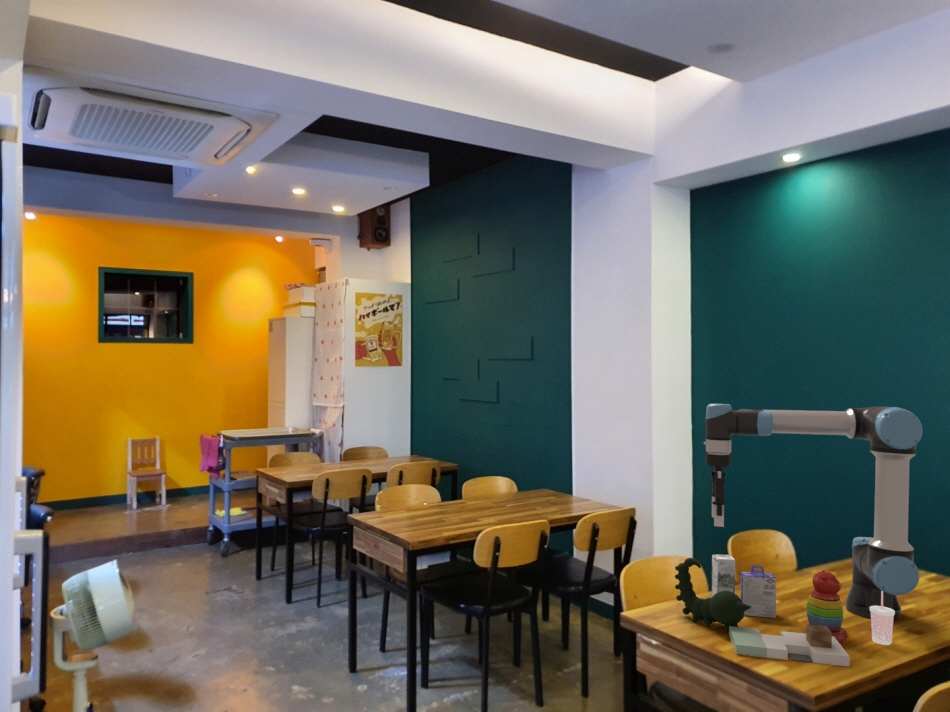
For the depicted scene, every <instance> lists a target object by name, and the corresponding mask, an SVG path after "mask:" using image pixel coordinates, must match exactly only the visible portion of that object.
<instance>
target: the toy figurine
mask: <svg viewBox="0 0 950 712" xmlns="http://www.w3.org/2000/svg"><path fill="white" fill-rule="evenodd" d="M693 566H696V567H697V568H698V569H701V568H702V566H701V563H700V562H699V560H697V558H694V557H688V558H686V559H685V560H684V561H683V562H681V563H679V564H678V565H676V566H674V569H675V571H677V574H675V575H674V578H675V580H678V581H679V582H678V584H675V586H674V588H675V590H679V591H680V592H679V594H678V595H676V596H675V597H676V601H677V602H681V601H682V602H683V603H684V606H685V607H684V608H682V613H683V614H684V615H685V616H687V615H690V613H691V615H692V621H693V622H694V623H699V622H700V621H703V622H702V623H703V624H704V625H706V626H707V627H710V626H712V625H713V623H718V624H720V625H723V628H724V630H725V631H726V633H728V634H729V626H734V627H739V625H738V624H739V623H740V622H742V620H743V619H744V618H745V615H744V612H745V611H746V610H748V609H750V606H748V605H746V604H744V603H743V602H742V600H741V597H740V596H739V595H737V594H736V593H733V592H730V591H720V592H718V593H716V594H715V595H714V596H713V597H706V598H702V597H699V596H698V595H696V594H697V593H696V591H695V590H694V585H693V582H692V581H691V579H692V576H691V573H690V572H689V571H690V568H691V567H693Z"/></svg>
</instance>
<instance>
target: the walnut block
mask: <svg viewBox="0 0 950 712" xmlns="http://www.w3.org/2000/svg"><path fill="white" fill-rule="evenodd" d="M805 626H806V627H805V628H806V629H805V634H806V640H807V641H808V643H809V644H810V646H813V647H822V648H832V633H831V631H830V630H829V629H828V627H827V626H819V625H809V623H807V624H806V625H805Z"/></svg>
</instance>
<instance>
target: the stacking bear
mask: <svg viewBox="0 0 950 712" xmlns="http://www.w3.org/2000/svg"><path fill="white" fill-rule="evenodd" d="M842 584H843V583H841V581H840V580H838V579H837V577H836V576H835V574H833V573H832V572H830V571H829V572H828V571H826V569H822V570H821V571H817V572H816V573H815V574H814V575H813V577H812V586H813V588H814V590H812V591H811V592H810V594H809V595H808V598H807V602H806V610H805V611H806V617H807V623H808V624H809V625H819V626H827V627H828V629H829V630H830V631H831V633H832V636H834V637H835V638H836V640H837V641H838V642H839V644H840V645H841V644H844V643H846V638H845V637H846V636H848V632H847V629H845V628H844V627H842V624H843V620H844V609H843V604H842V601H841V597H840V595H839V594H838V593H839V592H840V591H841V589H842V588H843V585H842Z"/></svg>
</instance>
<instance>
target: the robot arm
mask: <svg viewBox="0 0 950 712" xmlns="http://www.w3.org/2000/svg"><path fill="white" fill-rule="evenodd" d="M705 411H706V412H705V441H703V445H704V446H705V452H707V453H706V454H705V459H704V460H705V463H704V464H705V465H706V466H708V467H711V468H712V471H711V472H710V477H711V484H712V485H711V518H714V519H713V521H714V522H713V526H714V527H719V528H720V527H723V528H725V503H726V502H725V485H726V483H725V479H726V472H725V471H723V469H724V468H729V467H731V466H732V455H731V453H732V435H733V436H735V435H736V436H737V435H738V436H756V437H757V436H759V437H765V436H766V437H768V436H771V435H772V434H797V435H799V434H800V435H825V436H827V435H828V436H832V435H833V436H846V437H847V438H848V439H854V440H865V441H869V442H870V446H869V451H870V453H872V455H873V456H874V457H875V473H874V474H875V475H874V476H875V479H874V480H875V481H874V482H875V483H874V484H875V485H874V514H873V516H874V520H873V521H874V523H873V537H869V536H868V537H867V536H857V537H854V538H853V539H852V545H851V549H852V554H851V555H852V563H851V564H852V565H851V567H852V568H851V570H852V577H851V580H852V582H851V586H850V589H849V592H848V594H847V597H846V598H845V599H846V600H845V608H846V609H847V611H849V612H851V613H853V614H855V615H857V614H858V616H861V617H865V618H868V617H869V619H871V611H870V608H869V607H870V606H881V591H883V607H888V608H891V609H893V610H894V611H895V615H894V618H893V621H894V619H895V620H899V619H901V618H902V606H901V605H900V601H899V598H898V596H902V595H907V594H909V593H910V592H912V591H913V590H915V589H916V588H917V586H918V584H919V581H920V572H919V569H918V566H917V565H916V564H915V563H914V561H915V560H914V557H915V554H914V553H915V551H914V550H915V548H914V547H913V546H912V545H911V544H910V543H909V541H908V540H909V538H908V537H909V502H910V501H909V500H910V499H909V498H910V497H909V496H910V461H911V459H912V458H914V457H915V456H916V455H917V444H918V443H919V442H920V441H921V439H922V436H923V433H924V432H923V425H922V422H921V421H920V418H918V416H917V415H916V414H914V412H912V411H910V410H908V409H905V408H902V407H897V406H884V405H883V406H882V405H877V406H869V407H860V408H858V407H857V408H856V407H855V408H854V407H853V408H852V407H851V408H848V409H846V410H844V411H843V410H841V411H839V410H800V409H798V410H796V409H795V410H793V409H749V408H740V409H738V410H733V408H732V405H731V404H730V403H708V405H707V406H706V410H705Z"/></svg>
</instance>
